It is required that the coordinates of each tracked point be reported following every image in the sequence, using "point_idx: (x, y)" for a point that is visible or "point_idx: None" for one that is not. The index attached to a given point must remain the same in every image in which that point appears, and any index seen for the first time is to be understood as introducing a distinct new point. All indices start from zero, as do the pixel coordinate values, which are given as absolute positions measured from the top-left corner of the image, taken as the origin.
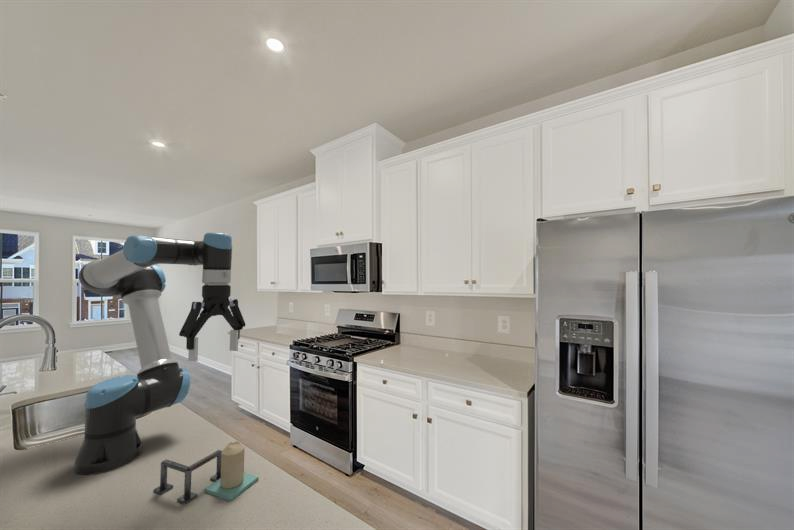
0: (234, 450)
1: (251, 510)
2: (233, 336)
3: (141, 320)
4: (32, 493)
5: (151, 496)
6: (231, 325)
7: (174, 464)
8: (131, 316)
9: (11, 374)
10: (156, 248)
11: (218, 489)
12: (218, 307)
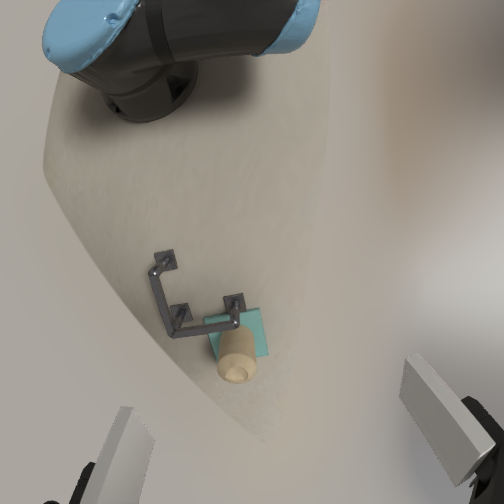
0: (231, 382)
1: (225, 389)
2: (445, 443)
3: None
4: (65, 113)
5: (150, 262)
6: (487, 492)
7: (159, 306)
8: None
9: None
10: None
11: (215, 336)
12: None
